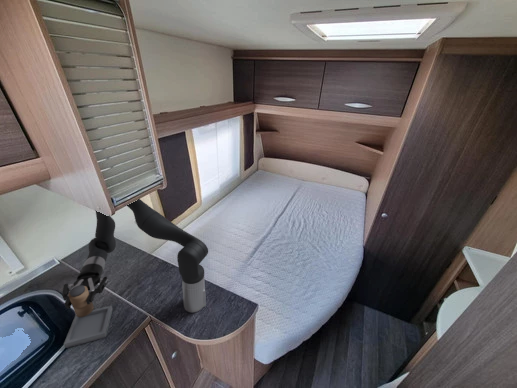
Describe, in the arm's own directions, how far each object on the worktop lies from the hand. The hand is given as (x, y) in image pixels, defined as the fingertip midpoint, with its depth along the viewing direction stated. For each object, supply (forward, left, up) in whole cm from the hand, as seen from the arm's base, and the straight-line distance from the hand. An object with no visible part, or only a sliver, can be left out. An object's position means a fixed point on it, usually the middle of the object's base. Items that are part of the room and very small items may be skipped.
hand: (78, 304), depth 72 cm
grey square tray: (0, -2, -16) cm, 16 cm away
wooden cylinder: (0, -3, -6) cm, 7 cm away
